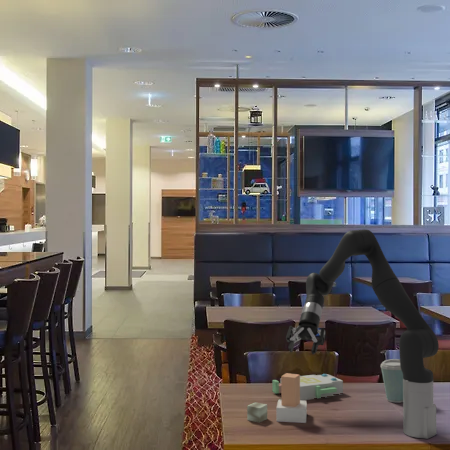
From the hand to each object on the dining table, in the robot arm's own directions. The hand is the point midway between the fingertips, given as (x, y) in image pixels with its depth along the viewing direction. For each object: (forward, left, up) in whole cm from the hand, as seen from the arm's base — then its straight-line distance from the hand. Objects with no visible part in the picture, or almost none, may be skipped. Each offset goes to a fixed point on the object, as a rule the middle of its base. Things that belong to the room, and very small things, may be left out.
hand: (301, 352), depth 212 cm
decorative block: (+11, -17, -21) cm, 29 cm away
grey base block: (-4, +11, -21) cm, 24 cm away
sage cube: (+3, +21, -21) cm, 29 cm away
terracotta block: (-4, +11, -16) cm, 20 cm away
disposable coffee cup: (-19, -33, -21) cm, 44 cm away
